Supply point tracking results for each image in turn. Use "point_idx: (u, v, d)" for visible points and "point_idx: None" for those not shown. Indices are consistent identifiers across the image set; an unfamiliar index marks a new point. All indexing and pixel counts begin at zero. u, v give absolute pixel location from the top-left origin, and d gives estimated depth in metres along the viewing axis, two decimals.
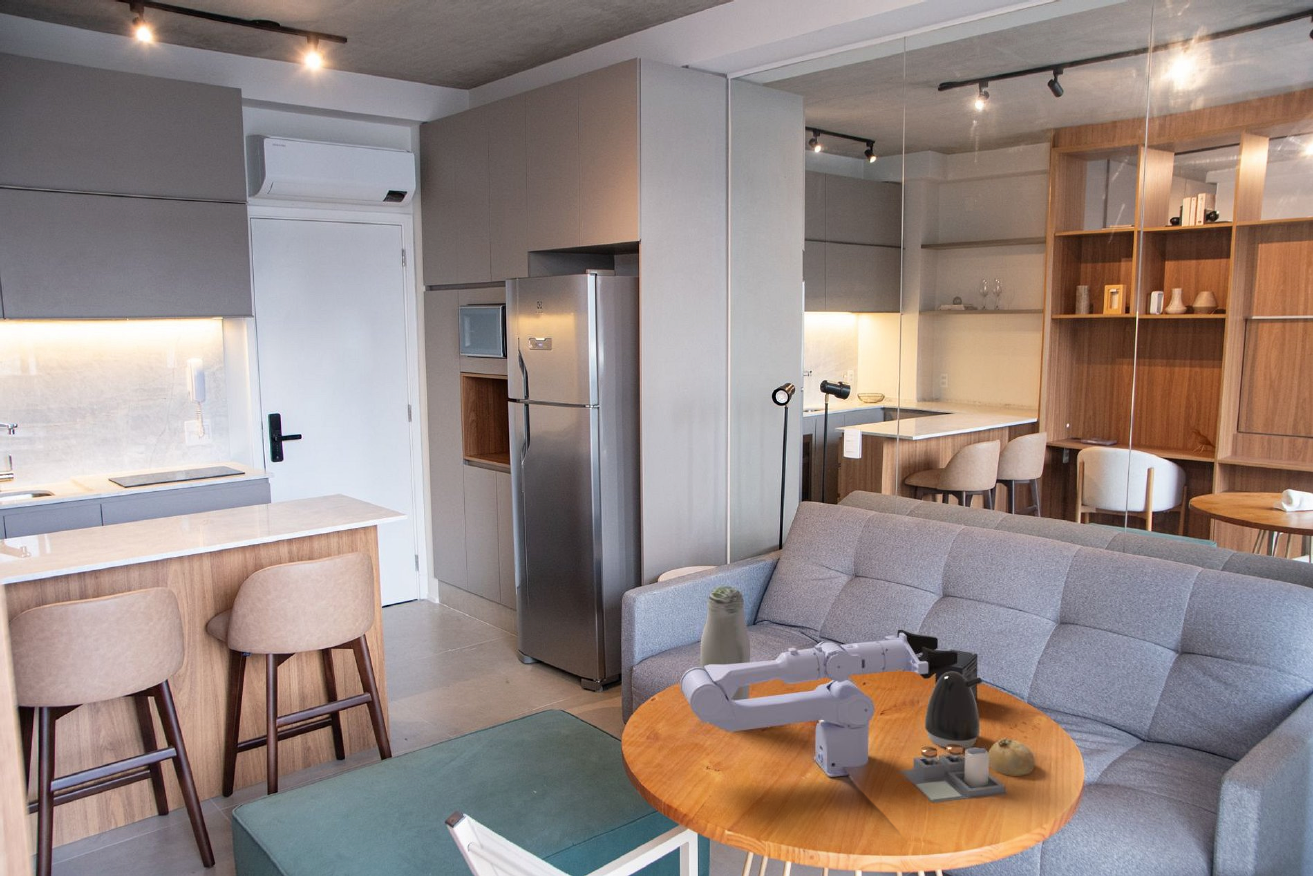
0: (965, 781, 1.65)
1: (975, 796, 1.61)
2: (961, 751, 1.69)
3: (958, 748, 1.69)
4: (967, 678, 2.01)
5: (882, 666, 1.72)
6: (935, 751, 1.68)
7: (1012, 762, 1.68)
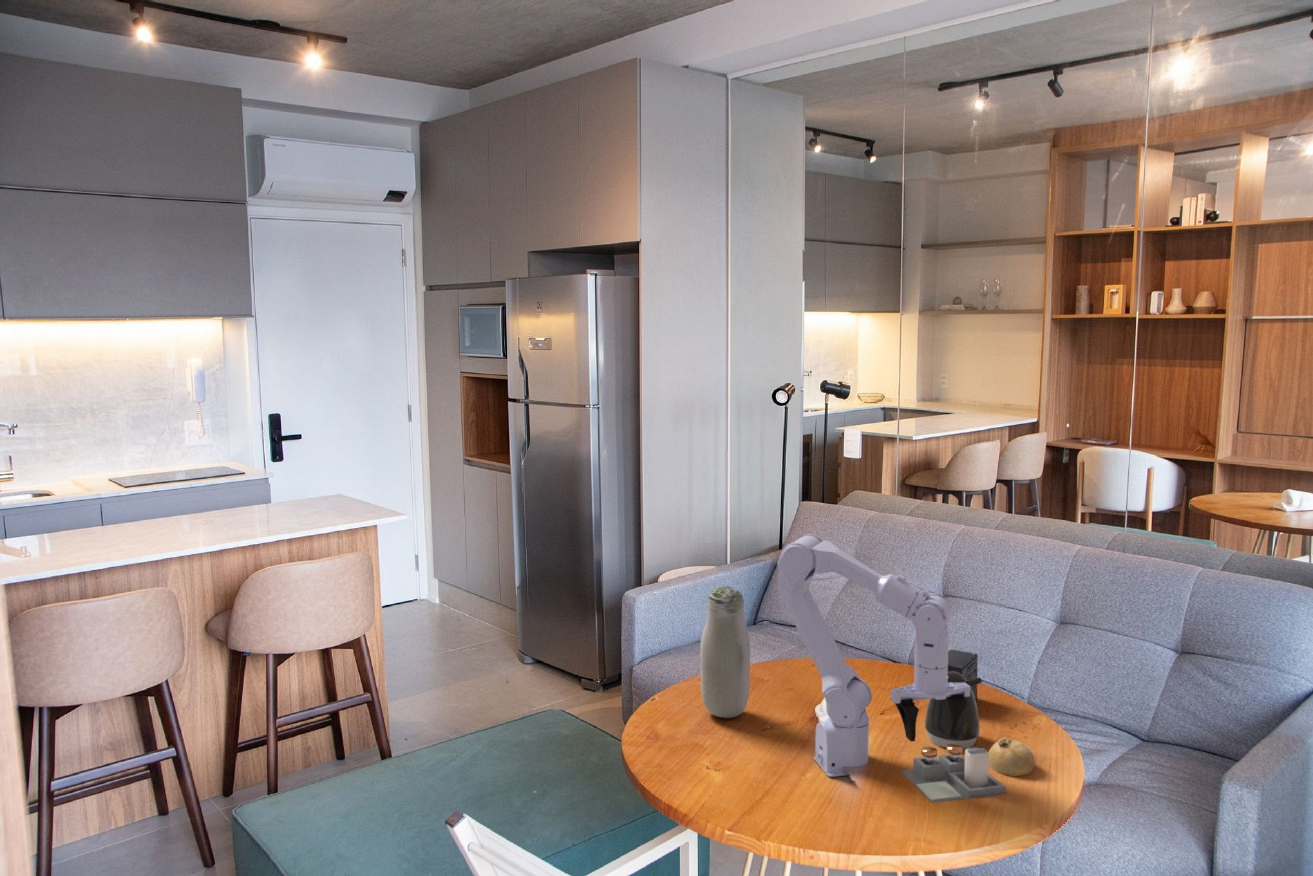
0: (965, 781, 1.65)
1: (975, 796, 1.61)
2: (961, 751, 1.69)
3: (958, 748, 1.69)
4: (967, 678, 2.01)
5: (923, 665, 1.65)
6: (935, 751, 1.68)
7: (1012, 762, 1.68)
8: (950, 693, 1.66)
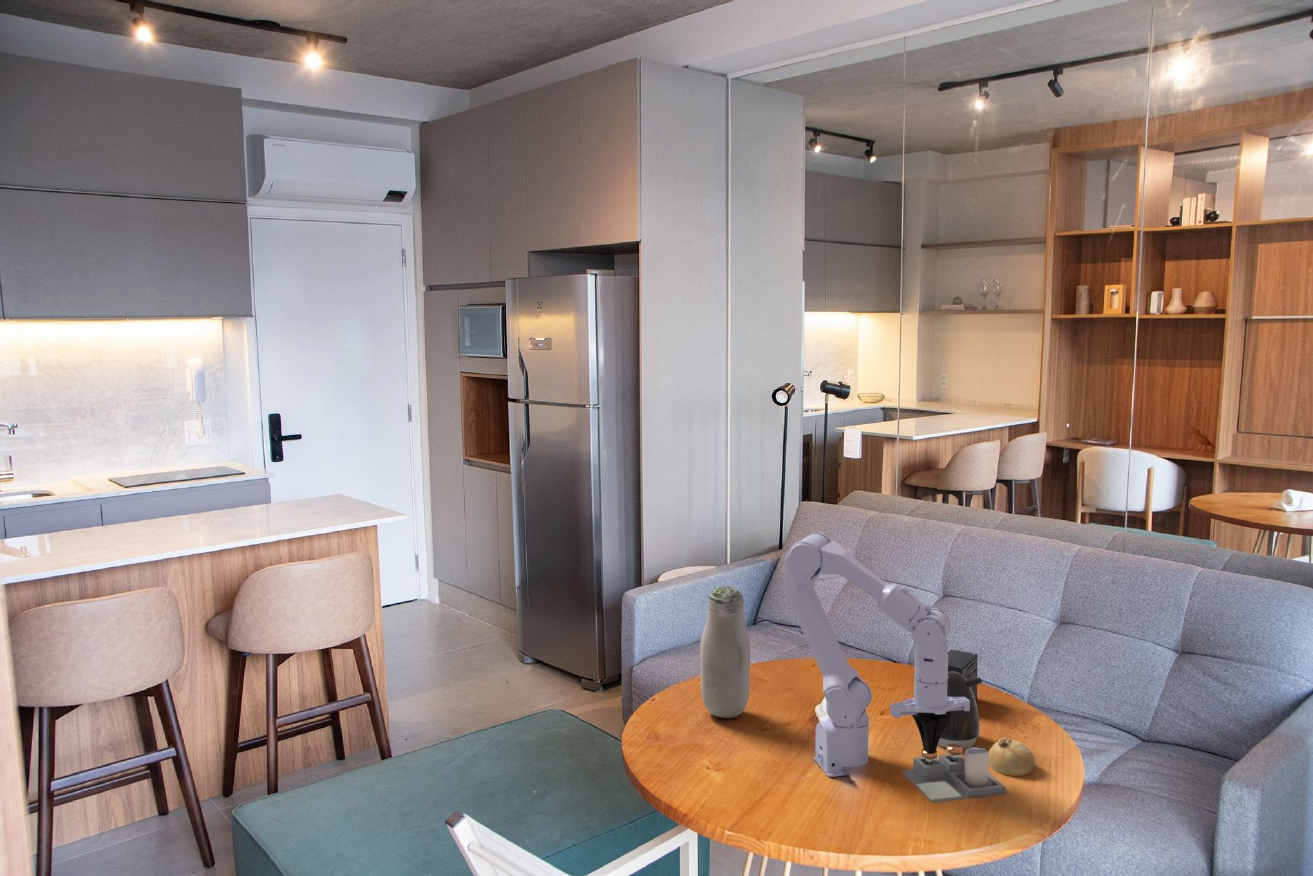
0: (965, 781, 1.65)
1: (975, 796, 1.61)
2: (961, 751, 1.69)
3: (958, 748, 1.69)
4: (967, 678, 2.01)
5: (922, 680, 1.65)
6: None
7: (1012, 762, 1.68)
8: (950, 708, 1.66)
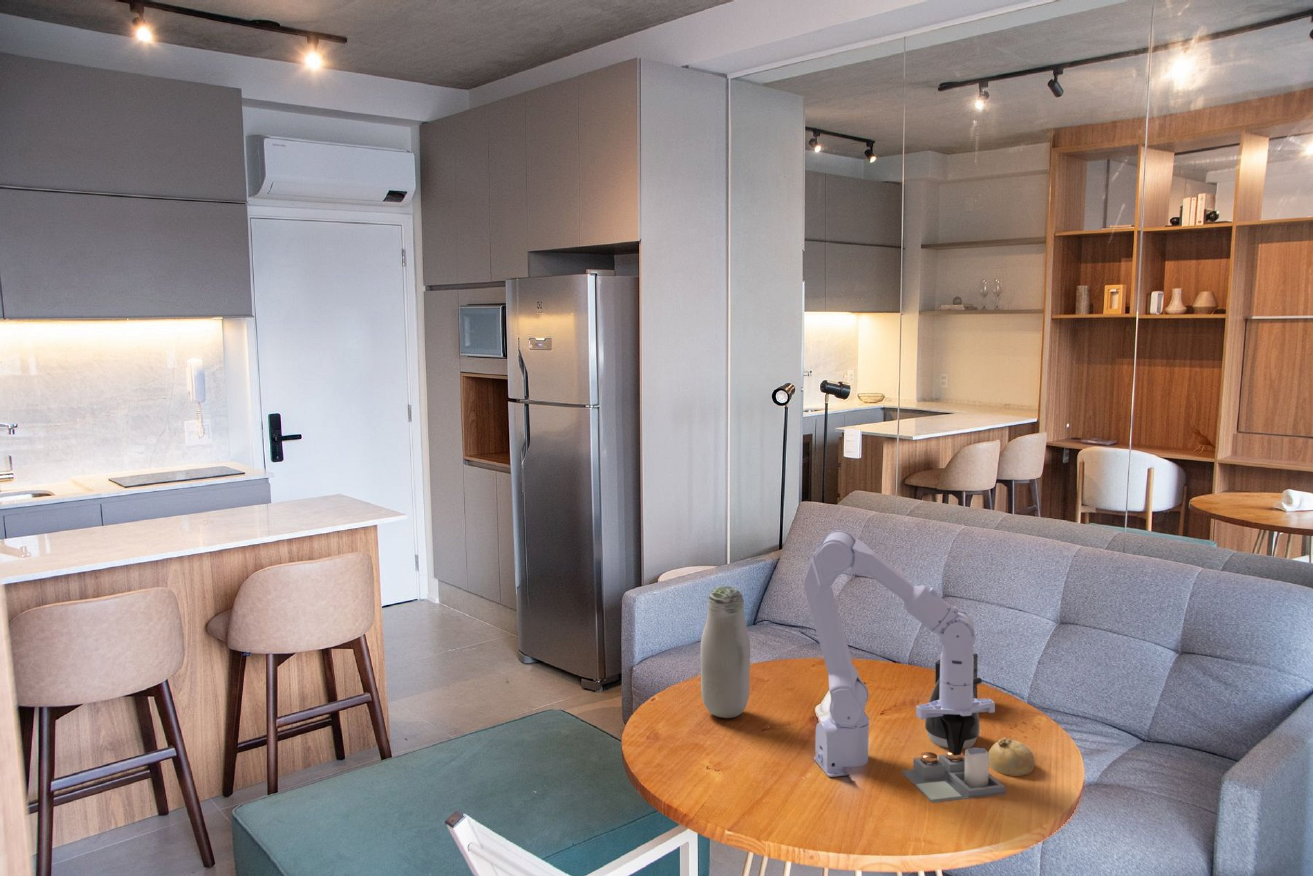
0: (965, 781, 1.65)
1: (975, 796, 1.61)
2: (961, 756, 1.69)
3: None
4: None
5: (951, 682, 1.66)
6: (935, 756, 1.68)
7: (1012, 762, 1.68)
8: (975, 709, 1.67)
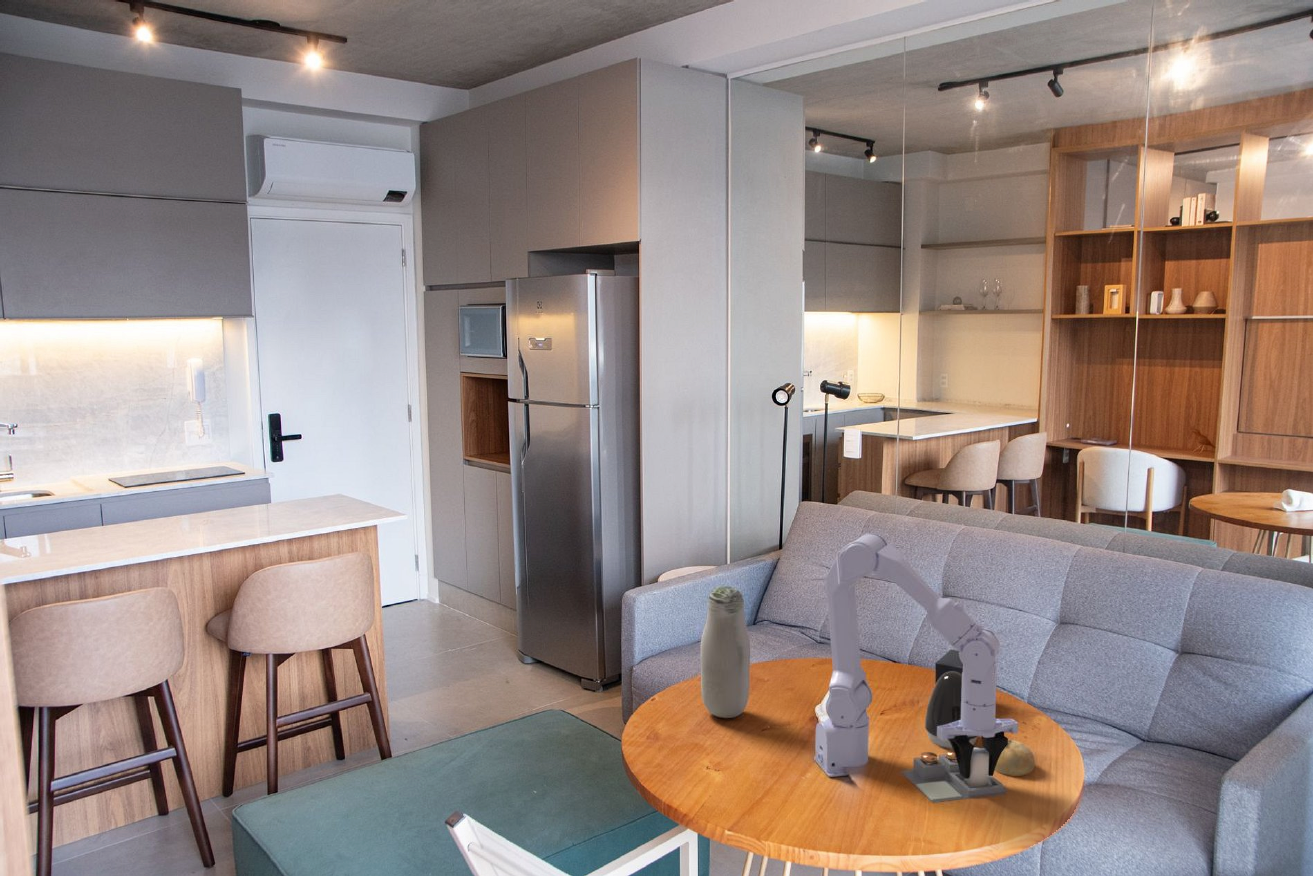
0: (965, 781, 1.65)
1: (975, 796, 1.61)
2: None
3: None
4: None
5: (970, 702, 1.61)
6: (935, 756, 1.68)
7: (1012, 762, 1.68)
8: (998, 730, 1.62)
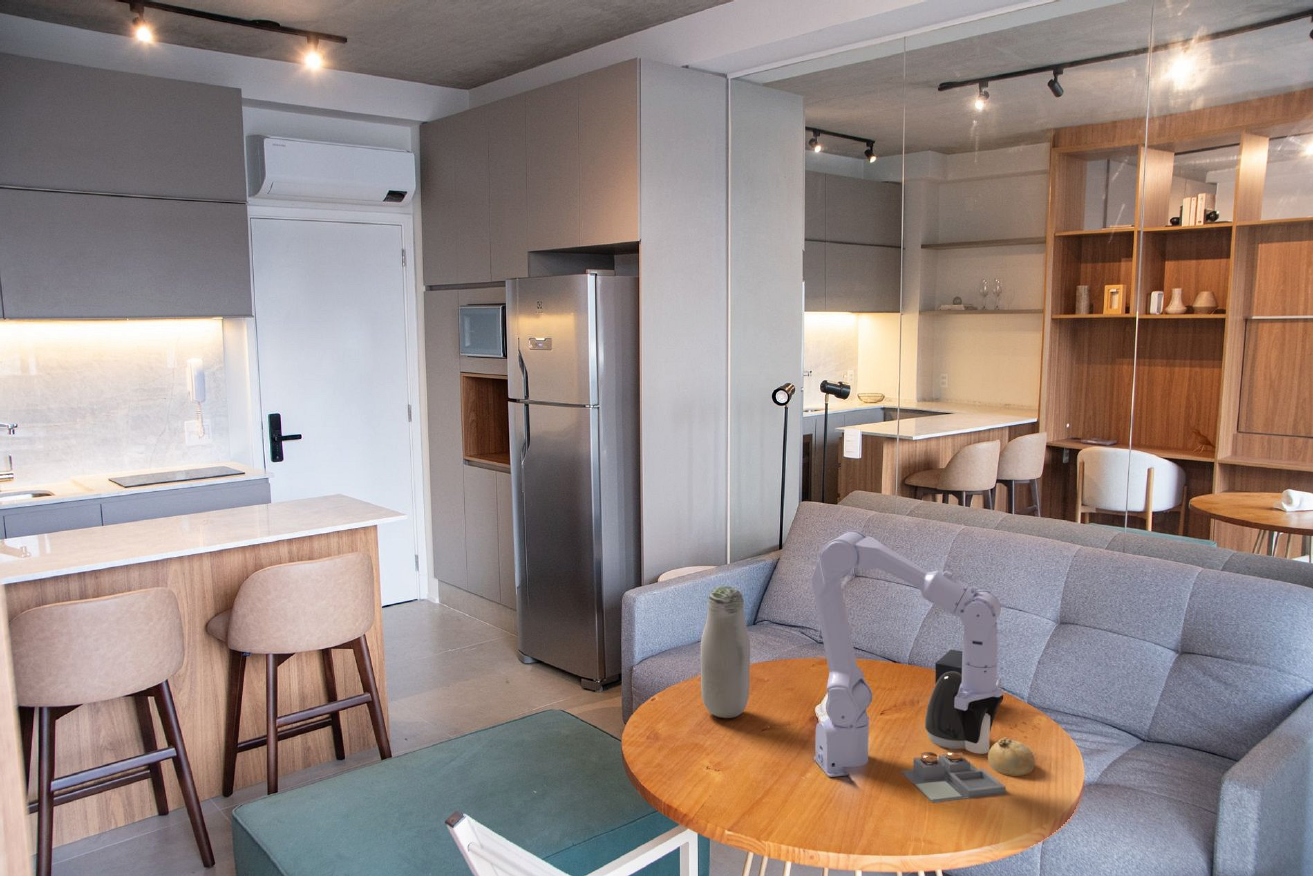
0: (971, 747, 1.63)
1: (975, 796, 1.61)
2: (961, 756, 1.69)
3: (958, 753, 1.70)
4: None
5: (971, 663, 1.61)
6: (935, 756, 1.68)
7: (1012, 762, 1.68)
8: None
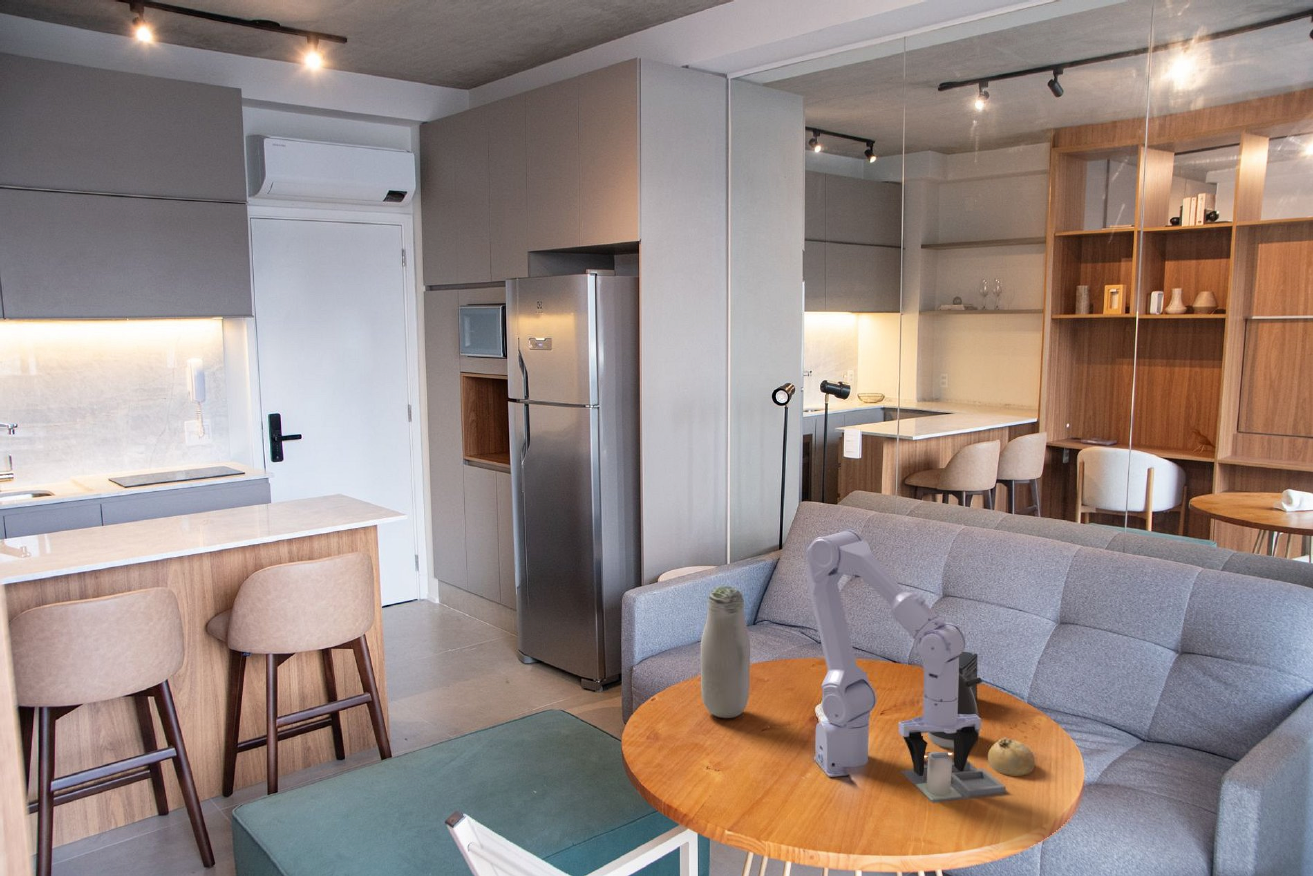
0: (927, 786, 1.62)
1: (975, 796, 1.61)
2: None
3: None
4: (967, 678, 2.01)
5: (928, 695, 1.60)
6: None
7: (1012, 762, 1.68)
8: (960, 726, 1.60)
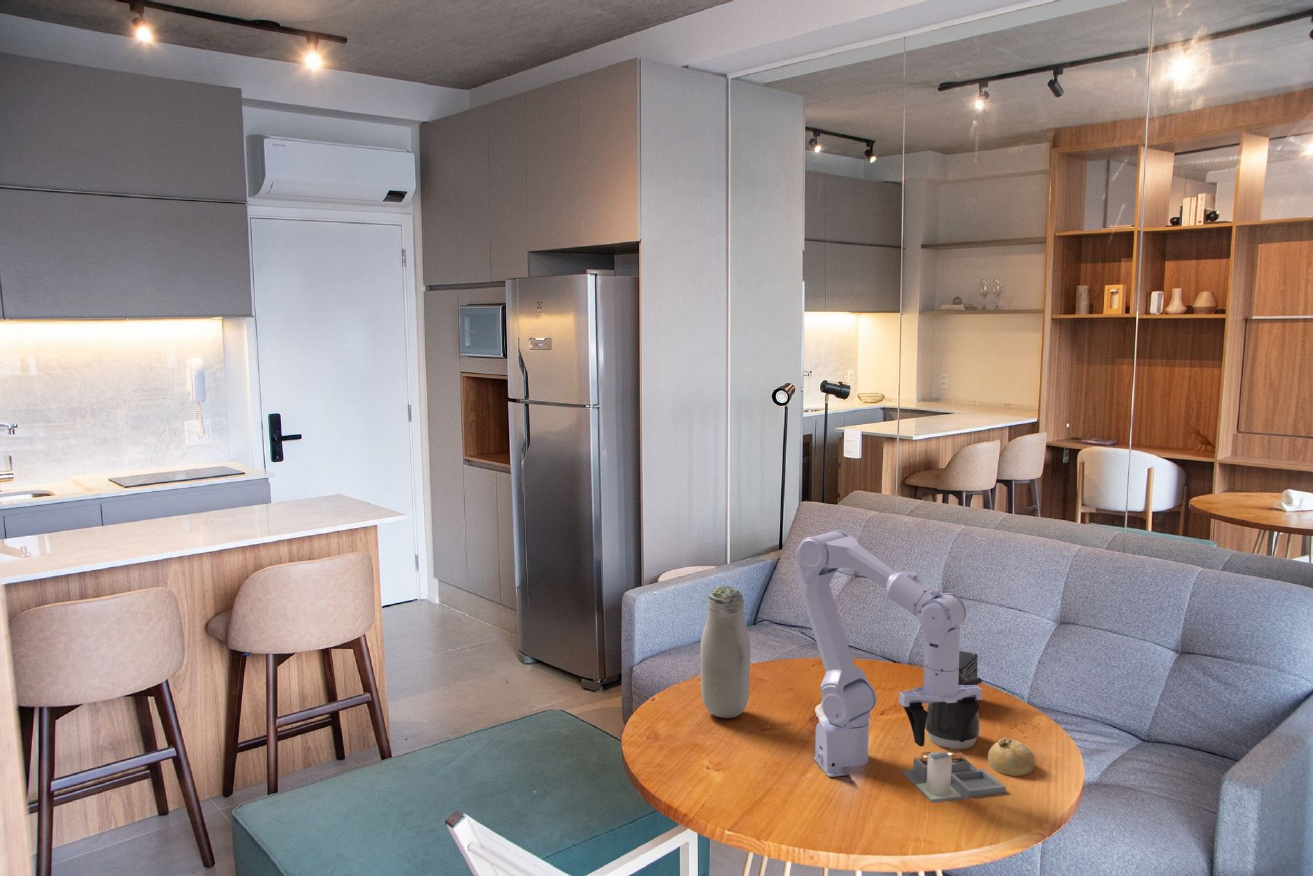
0: (928, 786, 1.62)
1: (975, 796, 1.61)
2: (961, 756, 1.69)
3: (958, 753, 1.70)
4: (967, 678, 2.01)
5: (928, 665, 1.59)
6: None
7: (1012, 762, 1.68)
8: (961, 696, 1.59)
